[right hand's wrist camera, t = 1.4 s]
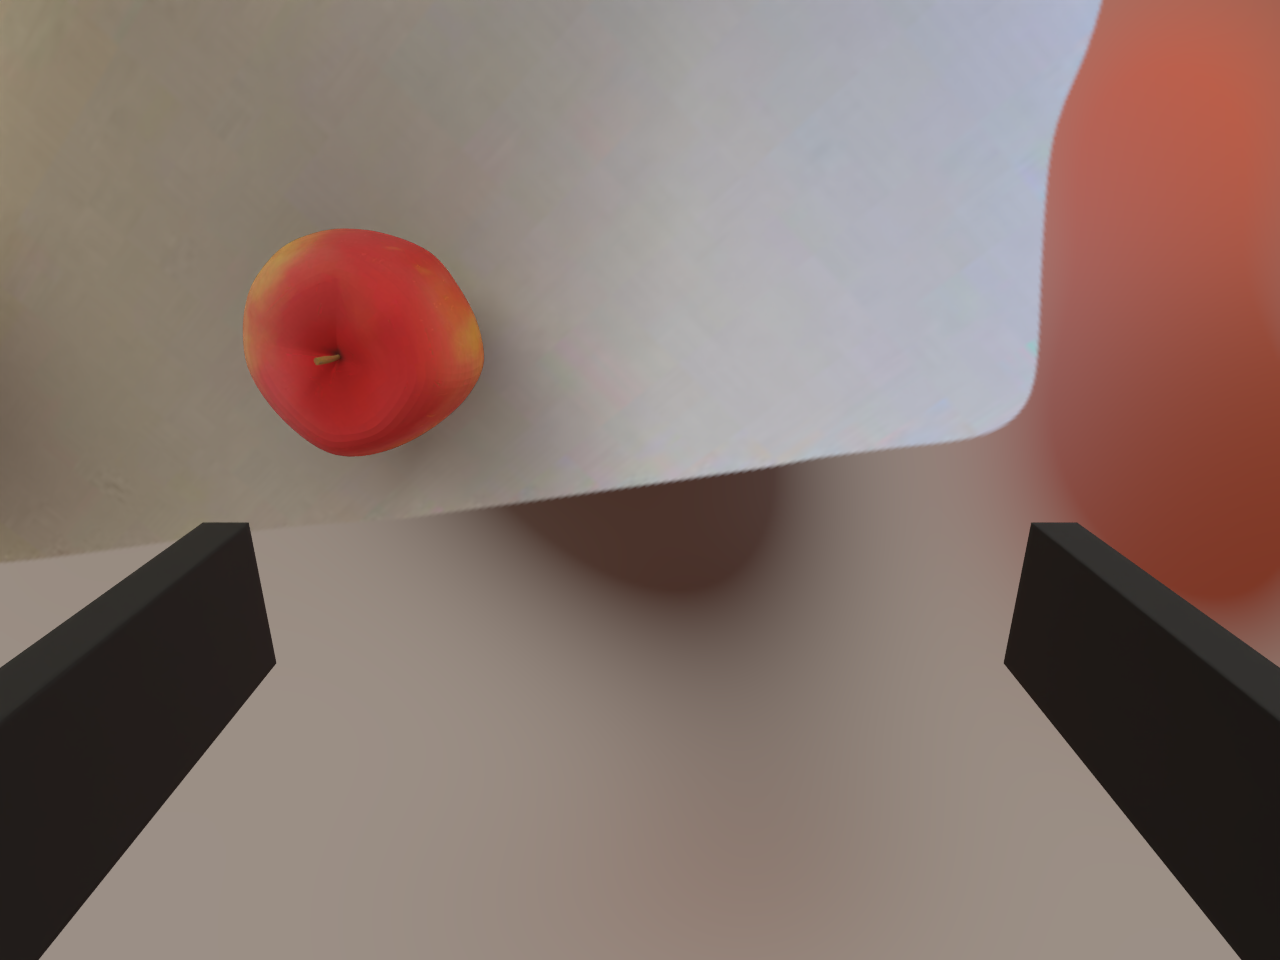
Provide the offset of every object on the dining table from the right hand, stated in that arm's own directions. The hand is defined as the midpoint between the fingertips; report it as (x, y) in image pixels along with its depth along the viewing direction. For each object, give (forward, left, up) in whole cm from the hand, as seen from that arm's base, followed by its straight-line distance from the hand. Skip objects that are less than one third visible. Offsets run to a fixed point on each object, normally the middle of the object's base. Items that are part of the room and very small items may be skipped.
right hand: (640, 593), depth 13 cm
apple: (-4, -11, -27) cm, 29 cm away
